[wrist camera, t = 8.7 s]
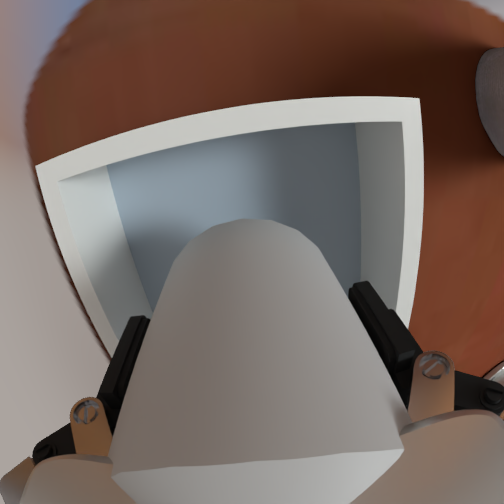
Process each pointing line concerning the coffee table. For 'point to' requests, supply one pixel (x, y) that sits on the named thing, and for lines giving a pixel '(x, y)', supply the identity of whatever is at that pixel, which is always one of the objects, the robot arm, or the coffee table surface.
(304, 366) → the can
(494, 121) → the pillar candle
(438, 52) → the coffee table surface
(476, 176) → the coffee table surface
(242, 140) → the walled box
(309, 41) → the coffee table surface
